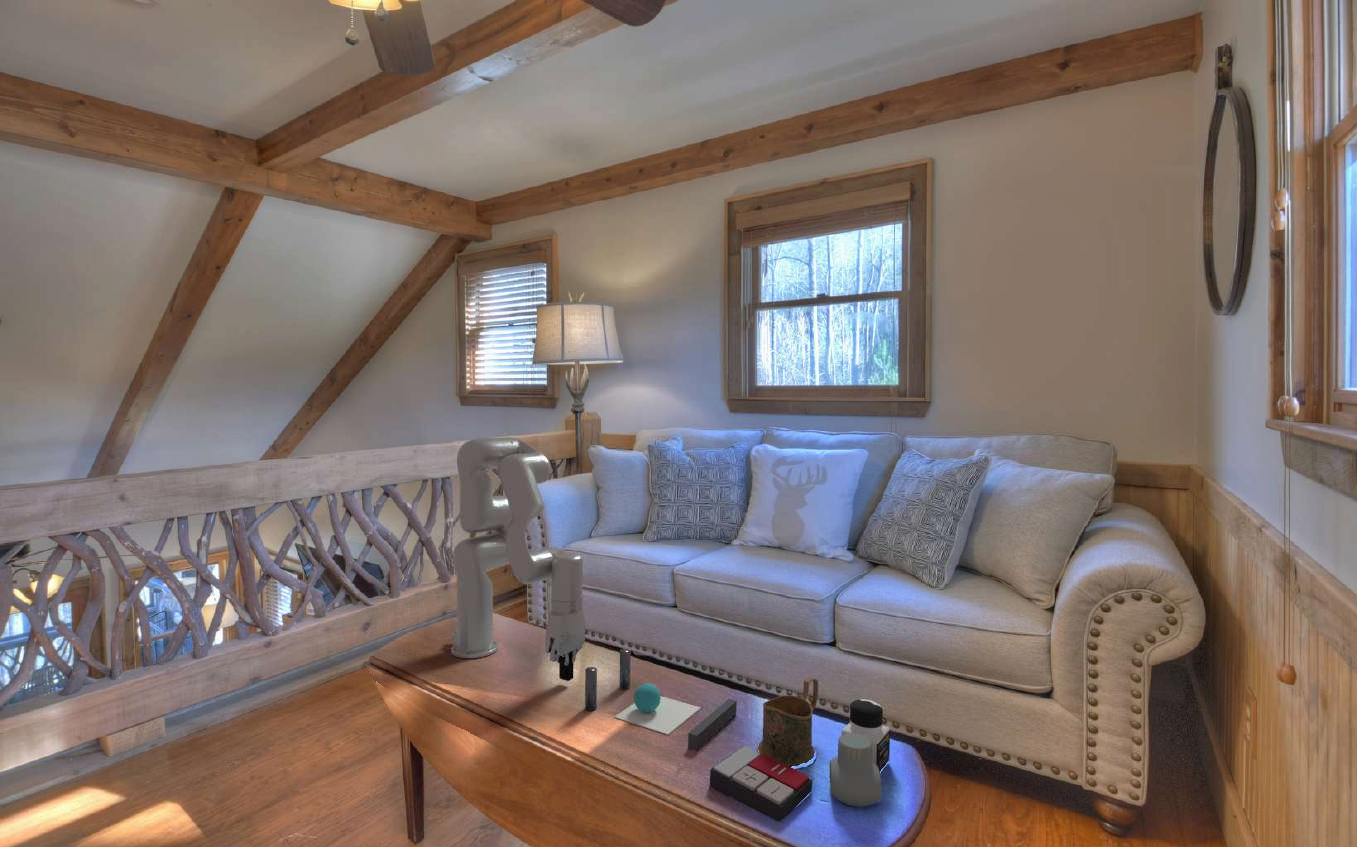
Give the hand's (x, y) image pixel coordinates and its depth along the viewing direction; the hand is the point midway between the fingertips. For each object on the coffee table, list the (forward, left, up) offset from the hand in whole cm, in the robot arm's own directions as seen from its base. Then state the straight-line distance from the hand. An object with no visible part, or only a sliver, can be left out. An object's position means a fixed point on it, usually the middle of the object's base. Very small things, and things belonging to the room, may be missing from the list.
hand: (566, 678), depth 157 cm
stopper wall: (+41, 0, -2) cm, 41 cm away
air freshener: (+73, -7, -2) cm, 73 cm away
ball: (+24, -1, +2) cm, 24 cm away
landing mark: (+27, 0, -2) cm, 27 cm away
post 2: (+13, +7, -2) cm, 15 cm away
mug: (+58, +3, -2) cm, 58 cm away
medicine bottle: (+72, +4, -2) cm, 72 cm away
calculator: (+58, -14, -2) cm, 60 cm away
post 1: (+13, -7, -2) cm, 15 cm away
